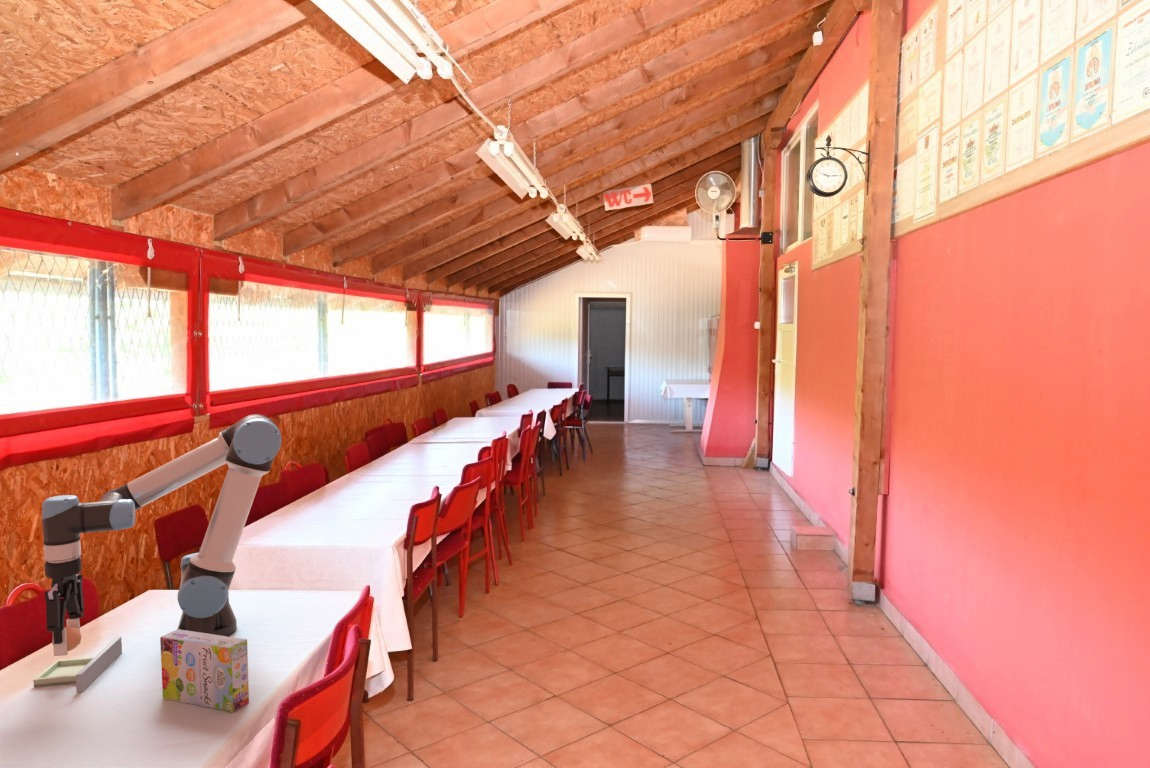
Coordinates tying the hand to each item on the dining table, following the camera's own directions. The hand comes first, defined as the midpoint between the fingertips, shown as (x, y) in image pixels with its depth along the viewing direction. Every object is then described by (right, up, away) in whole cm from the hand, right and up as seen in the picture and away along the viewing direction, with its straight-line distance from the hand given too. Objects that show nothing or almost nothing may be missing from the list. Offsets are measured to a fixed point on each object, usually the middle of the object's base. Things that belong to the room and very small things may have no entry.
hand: (67, 649), depth 184 cm
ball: (0, +3, 0) cm, 3 cm away
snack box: (+41, -7, -13) cm, 44 cm away
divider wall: (+7, -6, +2) cm, 10 cm away
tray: (0, -6, +1) cm, 7 cm away
